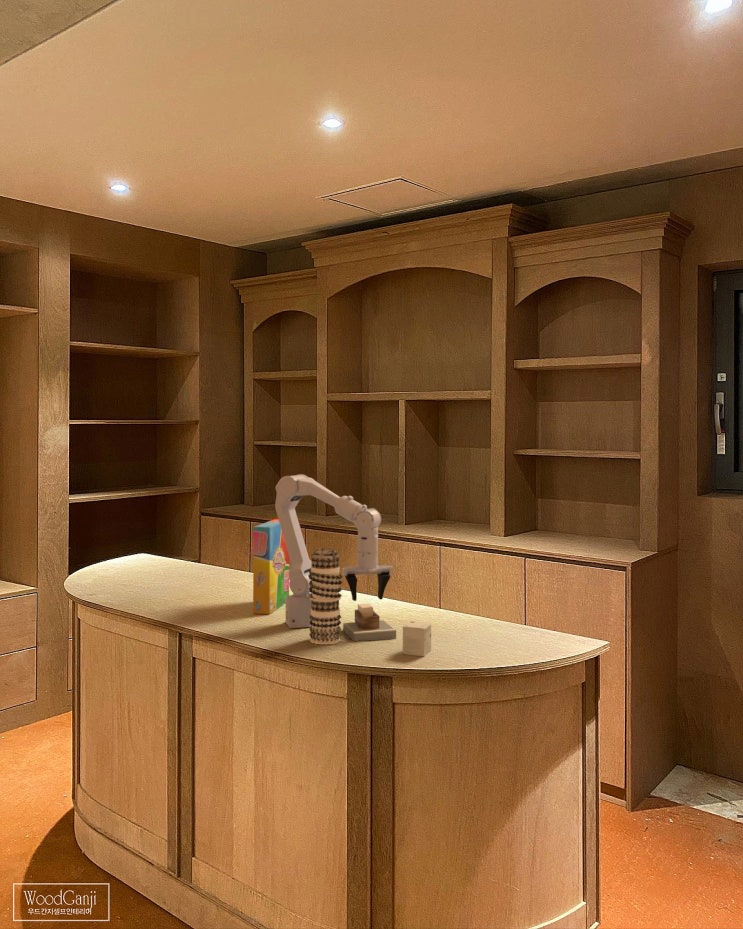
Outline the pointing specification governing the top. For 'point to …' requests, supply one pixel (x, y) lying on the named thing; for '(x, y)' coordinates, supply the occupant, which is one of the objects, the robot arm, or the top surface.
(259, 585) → the game box
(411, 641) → the skincare box
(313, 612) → the decorative candle
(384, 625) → the dock
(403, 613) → the top surface
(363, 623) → the brown wooden tray
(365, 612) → the beige block
